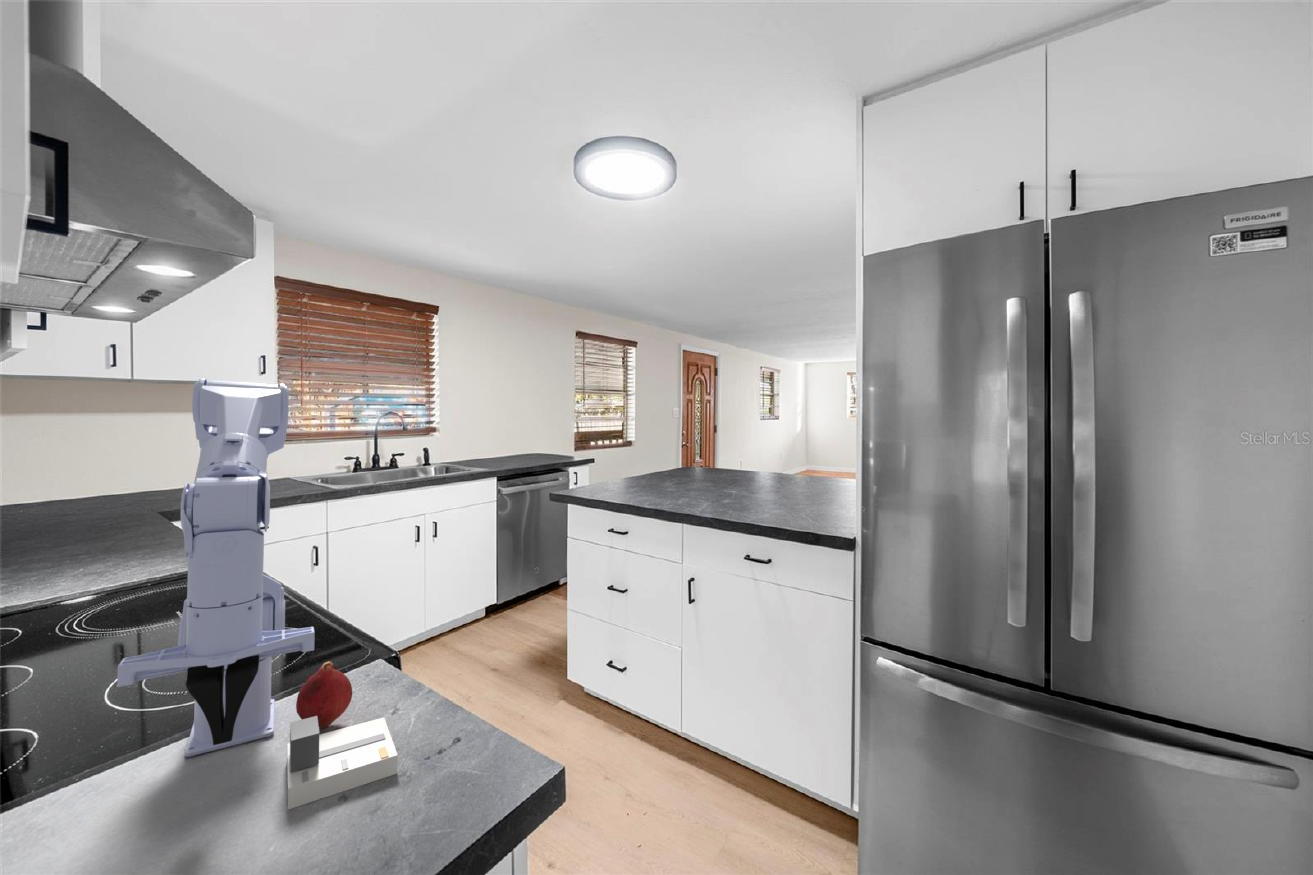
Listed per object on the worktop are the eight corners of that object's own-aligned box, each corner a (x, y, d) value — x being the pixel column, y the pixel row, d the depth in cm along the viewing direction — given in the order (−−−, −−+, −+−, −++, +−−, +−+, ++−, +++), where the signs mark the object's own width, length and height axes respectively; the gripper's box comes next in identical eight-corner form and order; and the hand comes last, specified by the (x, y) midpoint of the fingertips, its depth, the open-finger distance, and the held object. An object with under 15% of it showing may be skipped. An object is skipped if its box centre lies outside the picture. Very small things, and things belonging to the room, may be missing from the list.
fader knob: (289, 752, 56) (290, 722, 56) (316, 744, 57) (317, 715, 57) (290, 772, 52) (291, 740, 52) (318, 764, 54) (319, 733, 54)
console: (286, 761, 57) (287, 742, 57) (383, 733, 63) (384, 716, 63) (287, 809, 50) (288, 788, 50) (397, 773, 56) (397, 754, 56)
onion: (324, 744, 61) (325, 676, 61) (283, 737, 62) (284, 670, 62) (362, 718, 66) (363, 655, 66) (323, 712, 68) (325, 651, 68)
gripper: (109, 626, 43) (106, 789, 43) (317, 597, 52) (314, 733, 52) (129, 603, 49) (126, 747, 49) (313, 581, 57) (311, 703, 57)
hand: (223, 738), depth 51 cm, fingers closed
